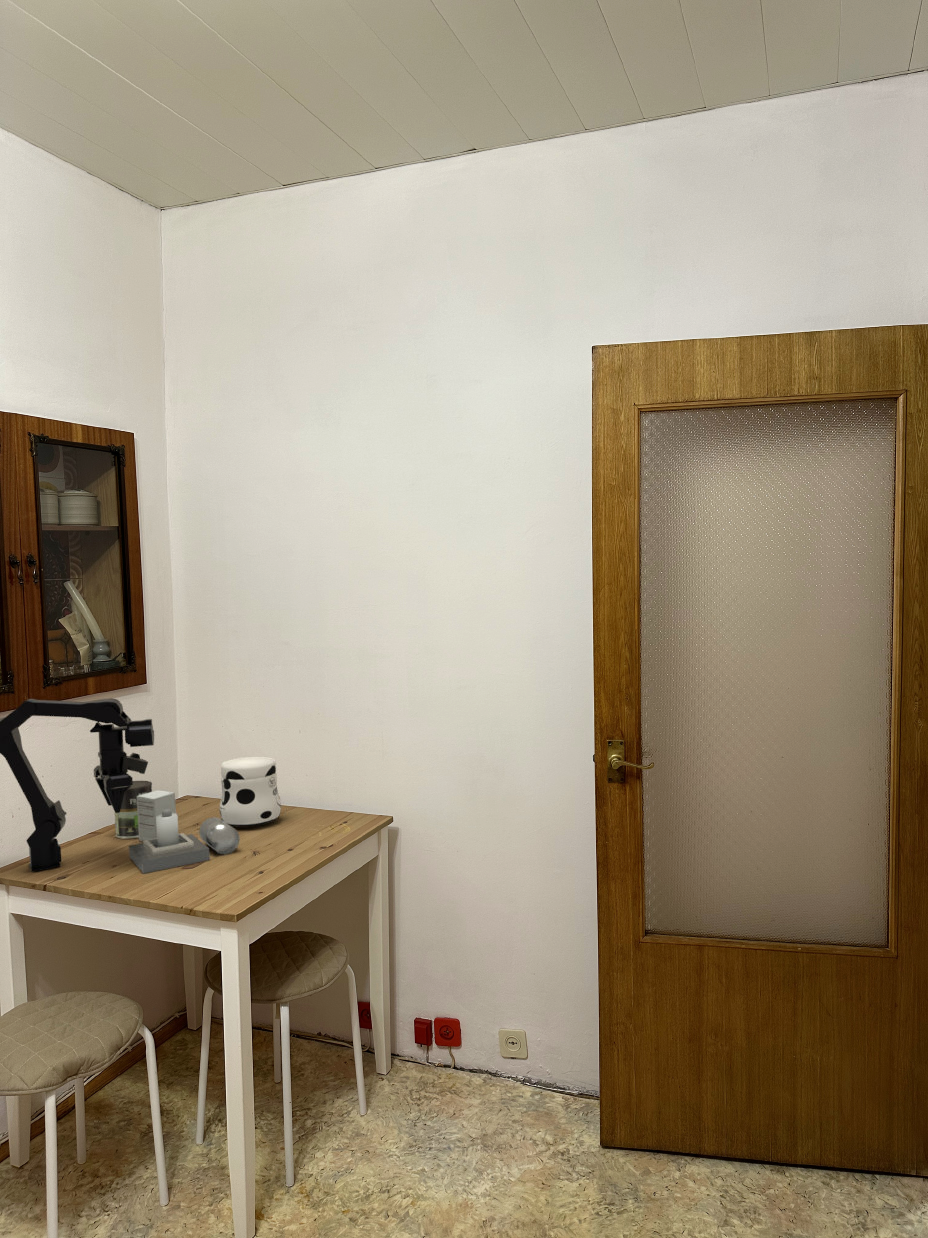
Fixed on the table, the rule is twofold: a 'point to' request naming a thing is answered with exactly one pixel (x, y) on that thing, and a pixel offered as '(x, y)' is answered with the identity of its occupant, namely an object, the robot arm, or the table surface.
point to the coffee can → (130, 810)
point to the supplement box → (152, 811)
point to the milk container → (249, 792)
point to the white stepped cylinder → (167, 828)
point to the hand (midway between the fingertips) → (114, 809)
